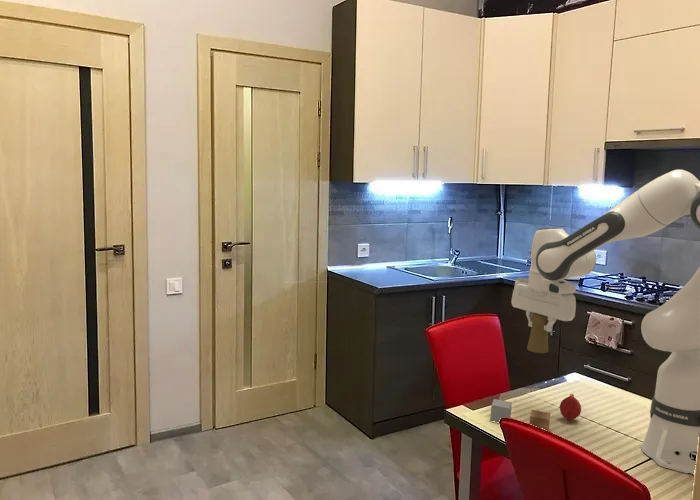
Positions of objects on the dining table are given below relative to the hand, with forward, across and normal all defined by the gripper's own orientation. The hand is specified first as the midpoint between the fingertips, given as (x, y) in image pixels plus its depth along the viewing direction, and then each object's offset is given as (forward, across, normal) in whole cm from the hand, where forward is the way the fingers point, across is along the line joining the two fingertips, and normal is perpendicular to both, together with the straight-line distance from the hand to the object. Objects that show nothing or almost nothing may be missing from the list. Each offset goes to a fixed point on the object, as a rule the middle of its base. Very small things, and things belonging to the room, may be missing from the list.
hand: (539, 328), depth 174 cm
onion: (+25, +10, +4) cm, 27 cm away
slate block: (+25, 0, -14) cm, 29 cm away
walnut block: (+25, +11, -10) cm, 29 cm away
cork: (+7, 0, 0) cm, 7 cm away
